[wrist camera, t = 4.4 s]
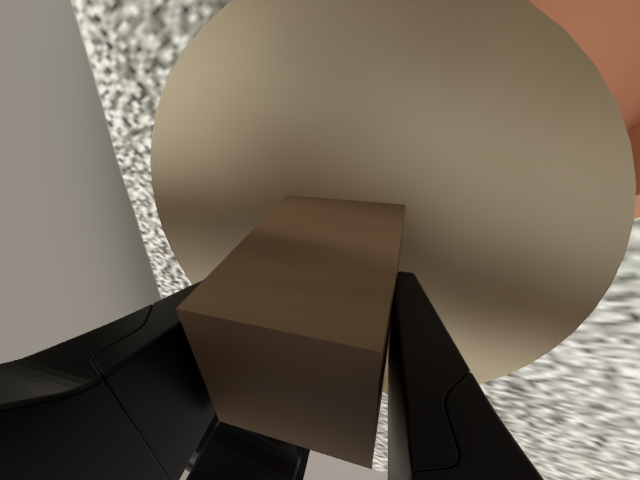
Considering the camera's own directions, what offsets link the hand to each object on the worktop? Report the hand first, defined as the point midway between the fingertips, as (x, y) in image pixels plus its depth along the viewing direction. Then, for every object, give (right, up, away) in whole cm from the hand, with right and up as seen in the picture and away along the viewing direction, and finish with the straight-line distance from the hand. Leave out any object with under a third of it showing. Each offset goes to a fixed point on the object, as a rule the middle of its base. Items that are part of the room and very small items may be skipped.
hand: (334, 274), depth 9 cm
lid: (+1, +1, +2) cm, 2 cm away
